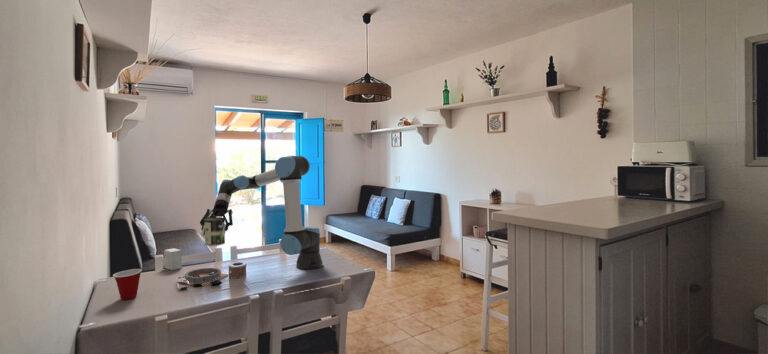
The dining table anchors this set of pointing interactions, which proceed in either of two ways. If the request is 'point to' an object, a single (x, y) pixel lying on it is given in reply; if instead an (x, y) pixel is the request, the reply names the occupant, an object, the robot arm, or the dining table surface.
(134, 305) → the dining table surface
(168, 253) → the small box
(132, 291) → the plastic cup
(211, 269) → the collar plate
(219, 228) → the coffee can
